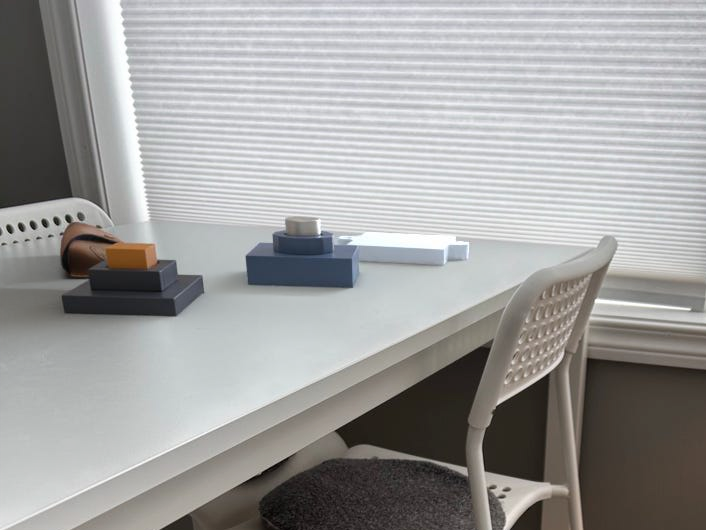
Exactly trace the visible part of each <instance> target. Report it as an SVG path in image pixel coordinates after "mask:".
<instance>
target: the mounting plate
mask: <svg viewBox="0 0 706 530" xmlns="http://www.w3.org/2000/svg"><path fill="white" fill-rule="evenodd" d="M337 245H355V246H358V249H359V260H362V261H361V262H375V261H377V263H399V264H417V265H436V266H445V264H446V263H447V262H448V261H451V260H452V261H453V260H459V261H465V260H468V259H469V251H470V249H469V248H470V242H468V241H459V240H457V239H456V236H455V235H437V234H419V233H418V234H417V233H400V232H399V233H397V232H396V233H395V232H377V231H375V232H374V231H365V232H364V233H362V234H360V235H340V236H338V237H337Z"/></svg>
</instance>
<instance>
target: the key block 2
mask: <svg viewBox="0 0 706 530" xmlns="http://www.w3.org/2000/svg"><path fill="white" fill-rule="evenodd" d="M320 232H321V236H312V237H298V236H288V235H286V229H284V230H279V231H274V232H273V233H272V242H258V244H256V245H255V246H254V247H253V248H252V249H251V250H250V251H249V252H248V253H246V254H245V255H244V256H245V267H246V268H245V269H246V279H247V285H248V286H271V285H275V287H276V286H277V287H278V286H279V287H306V288H307V287H310V288H344V289H345V288H347V289H353V288H354V286H355V284H356V282H357V279H358V277H359V275H360V261H359V249H358V246H355V245H338V244H335V235H334V233H332V232H329V231H326V230H320Z"/></svg>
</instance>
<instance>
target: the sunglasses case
mask: <svg viewBox="0 0 706 530" xmlns="http://www.w3.org/2000/svg"><path fill="white" fill-rule="evenodd" d="M115 243H125V242H124V241H122V240H121V239H119V238H118V237H116V236H115V235H113V234H110V233H108V232H106V231H104V230H103V229H100V228H99V227H96V226H94V225H92V224H89V223H85V222H80V221H73V222H70V223H69V224H68V225H67V226H66V228H65V229H64V231H63V234H62V236H61V241H60V249H59V250H60V253H59V257H60V264H61V268H62V269H63V270H64V271H65V272H66V274H68V276H69V277H71V278H74V279H80V278H82V279H89V276H88V269H90V268H91V267H93V266H95V265H97V264H99V263H100V262H102V261H104V260H106V259H107V256H106V250H105V248H107V247H109V246H111V245H113V244H115Z"/></svg>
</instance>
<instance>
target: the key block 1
mask: <svg viewBox="0 0 706 530" xmlns="http://www.w3.org/2000/svg"><path fill="white" fill-rule="evenodd" d="M88 276H89V278H88V280H86V281H84V282H82V283H81V284H79V285H77V286H76V287H74V288H72V289H70V290H68V291H66V292H65V293H63V294H62V295H61V301H62V307H63V312H64V314H65V315H66V314H67V315H69V314H70V315H71V314H72V315H74V314H75V315H104V316H105V315H107V316H110V315H111V316H143V317H144V316H147V317H177V316H179V315H180V314H181V313H182V312H183V311H184V310H185V309H186V308H188V307H189V306H190V305H192V303H193V302H194V301H196V300H197V299H198V298H199V297H200V296H202V294H205V287H204V278H203V274H178V264H177V260H176V259H157V265H155V266H154V267H152V268H151V269H133V268H108V263H107V259H106V260H104V261H102V262H100V263H99V264H97V265H95V266H93V267H91V268H90V269H88Z"/></svg>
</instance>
